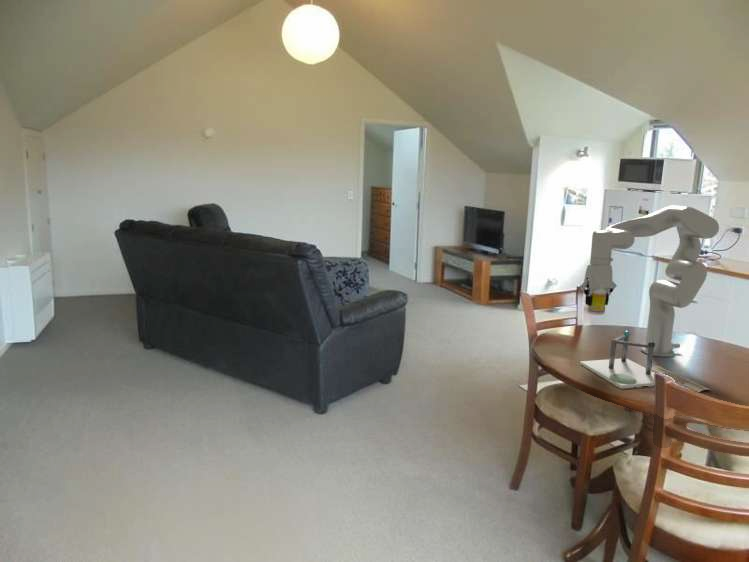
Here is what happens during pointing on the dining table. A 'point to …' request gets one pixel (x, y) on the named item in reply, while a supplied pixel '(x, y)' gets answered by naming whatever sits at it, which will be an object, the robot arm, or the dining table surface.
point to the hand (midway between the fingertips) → (596, 304)
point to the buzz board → (621, 373)
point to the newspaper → (680, 379)
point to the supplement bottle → (598, 302)
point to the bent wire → (625, 347)
